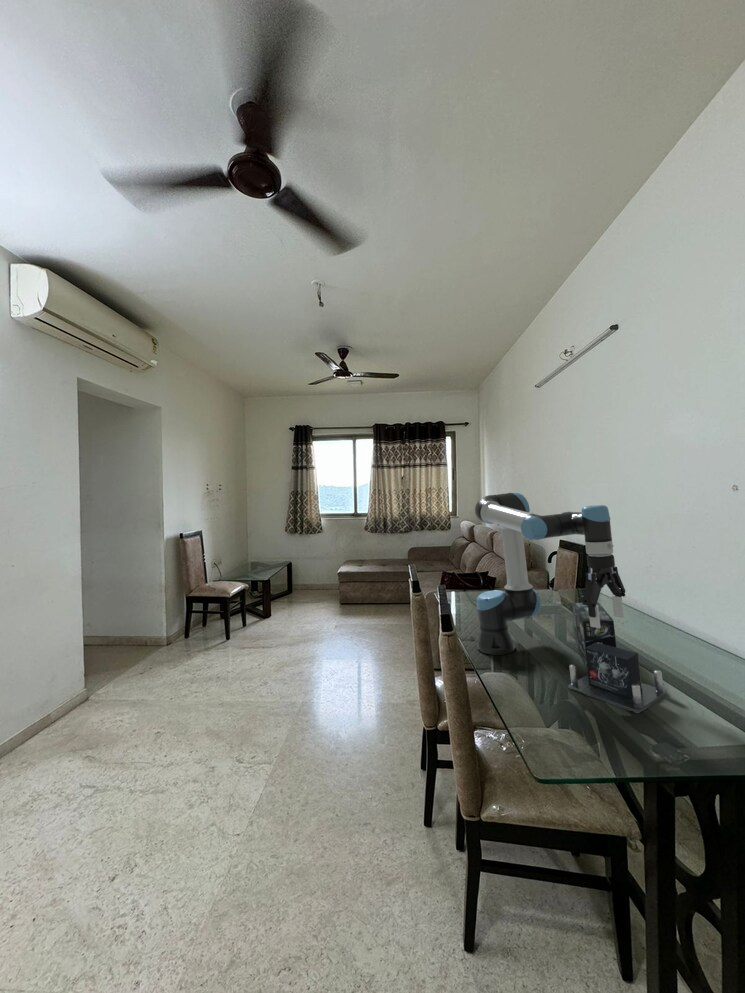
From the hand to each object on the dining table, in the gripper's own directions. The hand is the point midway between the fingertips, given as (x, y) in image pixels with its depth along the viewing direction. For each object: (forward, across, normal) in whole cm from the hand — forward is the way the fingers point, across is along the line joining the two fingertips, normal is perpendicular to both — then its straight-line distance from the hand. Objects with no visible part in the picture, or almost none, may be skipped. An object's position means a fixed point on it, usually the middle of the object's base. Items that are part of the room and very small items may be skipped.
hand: (607, 621), depth 125 cm
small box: (+21, 0, 0) cm, 21 cm away
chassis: (+22, 0, 0) cm, 22 cm away
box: (+22, +18, +16) cm, 33 cm away
